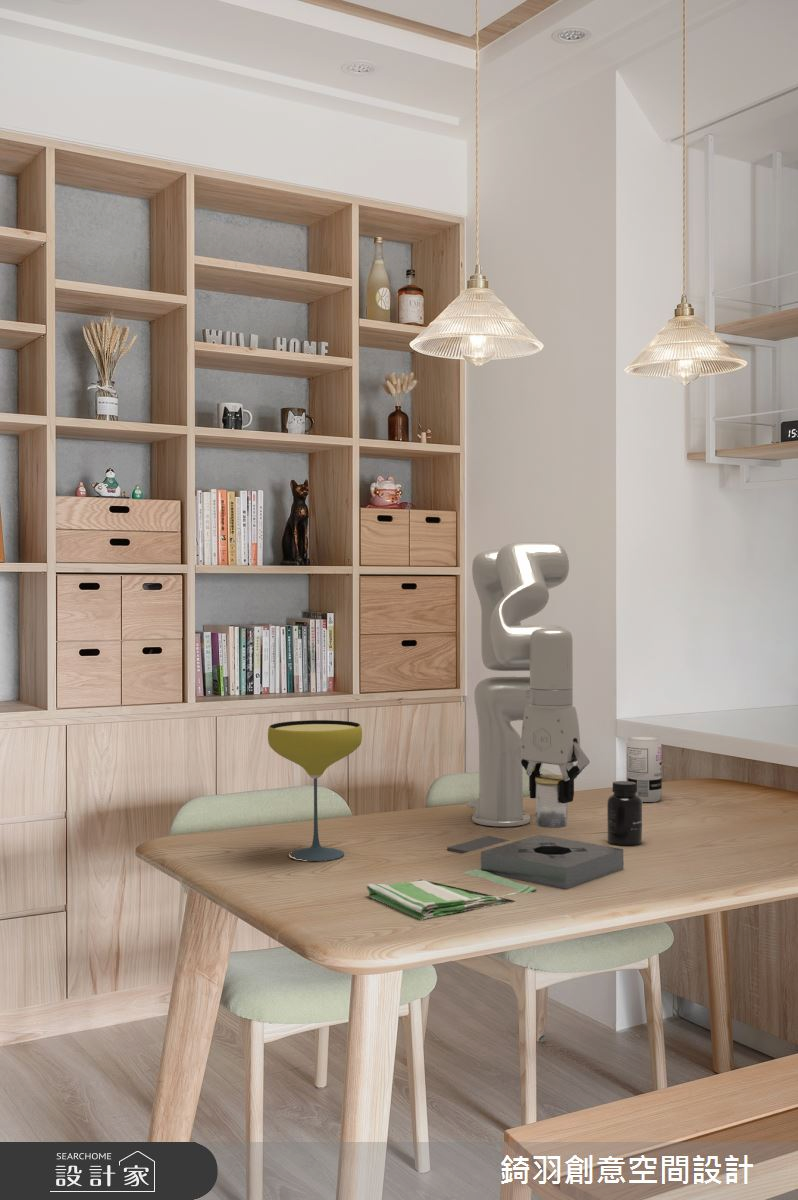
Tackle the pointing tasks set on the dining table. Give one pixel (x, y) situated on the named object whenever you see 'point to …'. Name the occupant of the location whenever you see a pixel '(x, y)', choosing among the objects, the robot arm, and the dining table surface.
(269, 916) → the dining table surface
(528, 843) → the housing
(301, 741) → the cocktail glass
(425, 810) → the dining table surface
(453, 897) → the dish towel
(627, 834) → the supplement bottle
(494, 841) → the mat
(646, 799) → the supplement can
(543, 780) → the can with gold end
